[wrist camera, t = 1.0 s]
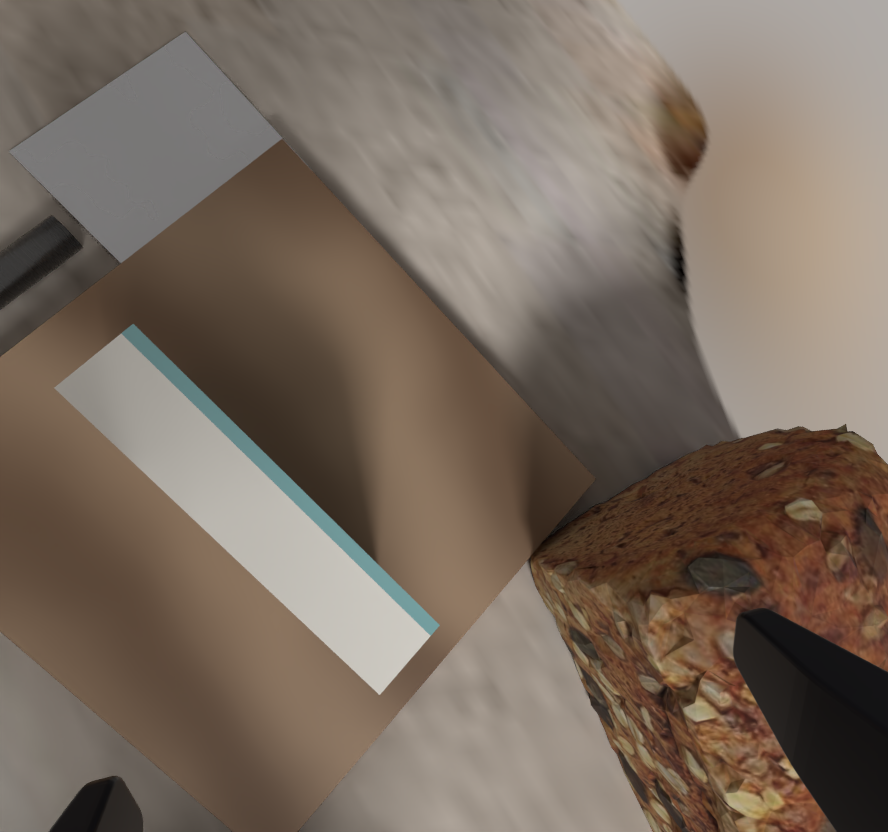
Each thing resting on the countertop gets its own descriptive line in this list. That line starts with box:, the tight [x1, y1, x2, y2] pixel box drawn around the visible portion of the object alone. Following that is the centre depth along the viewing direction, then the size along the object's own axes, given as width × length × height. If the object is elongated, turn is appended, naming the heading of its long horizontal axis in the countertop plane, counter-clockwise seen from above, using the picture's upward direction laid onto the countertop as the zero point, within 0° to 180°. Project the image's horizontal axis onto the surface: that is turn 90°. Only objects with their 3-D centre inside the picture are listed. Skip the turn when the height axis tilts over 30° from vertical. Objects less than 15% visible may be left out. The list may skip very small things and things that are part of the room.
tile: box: [54, 324, 440, 695], centre depth 16 cm, size 2×9×7 cm, turn 45°
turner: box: [0, 32, 310, 310], centre depth 19 cm, size 18×6×1 cm, turn 135°
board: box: [0, 139, 596, 832], centre depth 21 cm, size 16×16×1 cm
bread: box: [531, 424, 888, 832], centre depth 21 cm, size 19×11×10 cm, turn 27°
